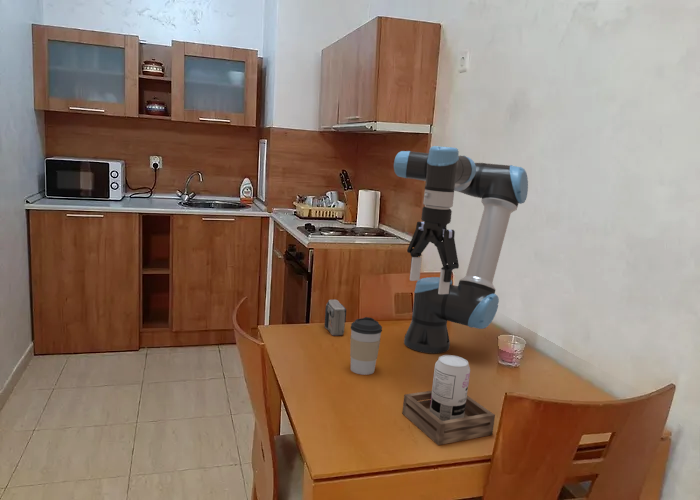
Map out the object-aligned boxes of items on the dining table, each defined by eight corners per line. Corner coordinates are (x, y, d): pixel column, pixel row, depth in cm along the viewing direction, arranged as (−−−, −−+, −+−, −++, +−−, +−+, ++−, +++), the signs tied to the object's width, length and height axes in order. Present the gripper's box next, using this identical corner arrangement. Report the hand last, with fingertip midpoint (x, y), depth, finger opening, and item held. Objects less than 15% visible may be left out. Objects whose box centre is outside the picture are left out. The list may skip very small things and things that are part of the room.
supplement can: (425, 410, 138) (432, 353, 135) (457, 411, 139) (465, 355, 136) (433, 427, 130) (440, 366, 128) (467, 428, 131) (475, 368, 128)
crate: (453, 405, 145) (455, 387, 144) (492, 434, 131) (495, 414, 130) (402, 413, 138) (404, 394, 137) (438, 445, 124) (440, 424, 124)
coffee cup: (375, 378, 157) (380, 327, 155) (343, 373, 159) (348, 322, 156) (380, 366, 166) (384, 318, 163) (350, 361, 168) (354, 314, 165)
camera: (323, 325, 199) (325, 298, 197) (338, 325, 200) (341, 298, 199) (329, 336, 188) (331, 308, 186) (346, 336, 190) (348, 308, 188)
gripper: (399, 200, 154) (392, 275, 157) (454, 214, 132) (444, 300, 136) (422, 201, 157) (414, 274, 161) (479, 214, 135) (469, 299, 139)
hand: (428, 286), depth 148 cm, fingers open, 13 cm apart
